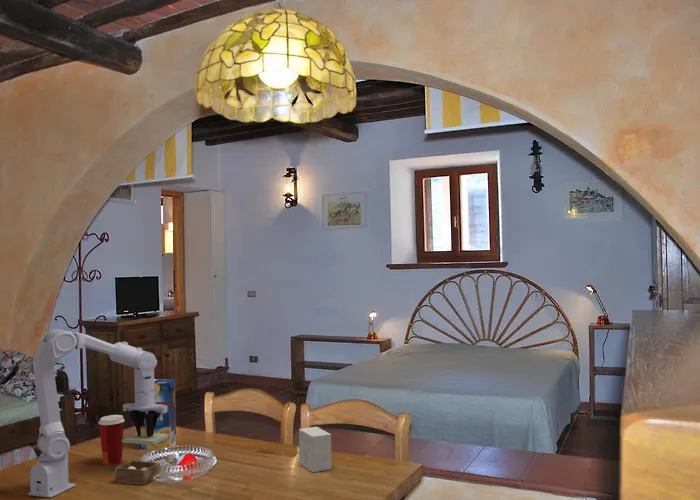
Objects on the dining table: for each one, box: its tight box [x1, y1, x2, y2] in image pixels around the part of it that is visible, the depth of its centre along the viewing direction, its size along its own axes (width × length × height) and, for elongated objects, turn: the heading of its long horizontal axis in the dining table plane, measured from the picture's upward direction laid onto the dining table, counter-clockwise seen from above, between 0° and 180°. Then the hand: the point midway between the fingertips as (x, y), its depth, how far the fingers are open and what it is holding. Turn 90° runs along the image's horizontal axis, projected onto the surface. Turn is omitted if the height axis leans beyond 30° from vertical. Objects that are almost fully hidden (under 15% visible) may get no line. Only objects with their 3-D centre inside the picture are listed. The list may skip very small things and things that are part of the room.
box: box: [114, 460, 161, 486], centre depth 180 cm, size 7×10×4 cm
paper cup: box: [97, 414, 126, 466], centre depth 196 cm, size 8×8×14 cm
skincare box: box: [298, 426, 333, 473], centre depth 187 cm, size 10×6×10 cm, turn 27°
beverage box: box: [137, 378, 178, 451], centre depth 212 cm, size 7×11×22 cm, turn 87°
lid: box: [122, 426, 168, 445], centre depth 190 cm, size 8×11×4 cm
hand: (145, 435), depth 190 cm, fingers closed on lid, 3 cm apart
